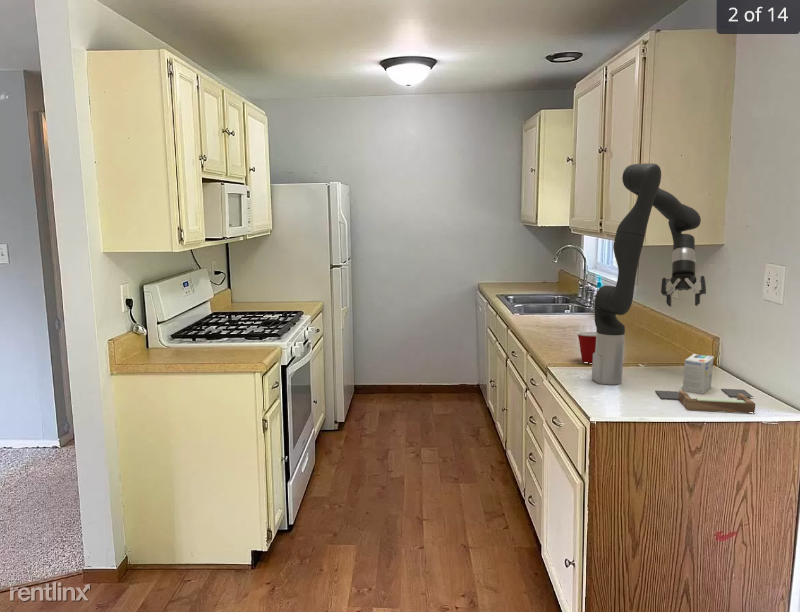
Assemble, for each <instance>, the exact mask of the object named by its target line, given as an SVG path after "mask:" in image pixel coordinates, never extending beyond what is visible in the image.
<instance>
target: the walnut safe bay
mask: <svg viewBox="0 0 800 612" xmlns="http://www.w3.org/2000/svg"><path fill="white" fill-rule="evenodd" d="M678 392H679V400H678V401H679V402H680V403H681V405H682V406H683V407H684V408H685V409H686V410H687V411H699V412H716V411H725V412H724V413H734V412H744V413H743V414H750V413H749V412H753V413H754V412H755V411H756V403H755V402H754V401H753V400H751V398H748V397H746V396H745V395H744V394H739V393H738V394H737V398H736V399H726V398H724V399H723V398H710V397H708V398H707V397H696V398H691V397H690V395H689V394H688V393H687V391H683V390H678ZM745 412H746V413H745ZM754 414H755V413H754Z"/></svg>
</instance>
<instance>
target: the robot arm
mask: <svg viewBox="0 0 800 612" xmlns="http://www.w3.org/2000/svg"><path fill="white" fill-rule="evenodd" d="M621 180H622V183H623V186H624V188H626V190H628V191H629V192H631V193H632V194H634V195H636V196H637V198H636V201H635V204H634V205H633V207H632V208H631V209H630V211H629V212H628V213H627V214H626V215H625V217H624V218H622V220H621V221H620V223H619V224H618V227H617V228H616V232H615V235H614V236H615V237H614V241H613V245H612V246H613V253H614V258H615V261H616V264H617V270H618V271H617V280H616V283H615V284H616V285H614V286H613V285H608V284H607V285H602V286H600V287H599V288H598V290H596V293H595V297H594V324H595V328H596V331H595V332H596V349H595V353H593V362H592V364H591V365H592V367H591V380H592V381H594V382H595V383H597V384H599V385H600V384H602V385H603V384H604V385H610V386H611V385H613V386H614V385H620V384H622V382H623V367H624V349H625V333H626V327H625V324H623V323H622V322H621V321H620V320H619V319H618V318H617V316H616V315H619V316H623V315H625V314H627V313H628V312H629V311H630V309H631V307H632V304H633V300H634V299H633V298H634V292H635V285H636V277H637V271H638V268H639V267H638V266H639V261H640V257H641V253H642V250H643V246H644V242H645V238H646V233H647V228H648V223H649V219H650V216H651V212H652V210H653V209H652V208H655V210H657V211H658V212H659V213H660V214H661V215H662V216H663V217H664V218H665V219H667V220H668V221H667V222H668V227H669V230H670V233H671V237H672V242H673V244H672V245H673V246H672V256H671V259H672V260H671V261H672V263H671V278H666V277H663V278H662V280H661V286H660V287H661V288H660V292H661V295H662V296H665V297H666V302H665V303H666V305H667V306H668V307H669V308H671V307H672V300H673V299H672V296H673V295H674V294H675V293H676V292H677V291H689V290H691V291H692V292H693V293H694V305H695V307H698V306H699V305H700V304H701V296H702V295H706V294H707V288H706V287H707V284H706V278H705V276H704V275H701V276H700V277H697V276H696V262H697V261H696V253H695V251H696V250H695V246H696V245H695V243H696V242H695V237H694V236H693V235H692V234H690V233H682V232H686V231H691V230H695V229H698V227H699V226H700V225H701V221H702V220H701V215H700V214H699V212H698V211H697V210H696V209H695V208H693V207H690V206H688V205H686V204H684V203H682V202H681V201H680V200H679V199H678V198H677V197H676V196H674V195H673V194H672V193H671V192H668V190H667V191H666V190H664V189H662V188H660V185H661V181H662V170H661V167H660V165H659V164H657V163H653V162H652V163H634V164H630V165H628V166H626V167H625V169H624V170H623V172H622V178H621ZM697 282H698V283H699V284H700V286H701V287H700V288H701V289H698V288H697V287H696V286H695V284H696V283H697ZM670 283H671V284H672V285H671V286H670V287H669V289H668V290H667V286H668V285H669V284H670Z"/></svg>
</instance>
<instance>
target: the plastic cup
mask: <svg viewBox="0 0 800 612" xmlns="http://www.w3.org/2000/svg"><path fill="white" fill-rule="evenodd" d="M576 335H577V338H578V342H579V349H580V357H581V362H582V361H583V362H588V363H592V362H593V353H595V349H596V331H578V332H576ZM583 362H582V363H583Z"/></svg>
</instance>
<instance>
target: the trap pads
mask: <svg viewBox="0 0 800 612" xmlns="http://www.w3.org/2000/svg"><path fill="white" fill-rule="evenodd" d="M720 390H721V392H723V393H724V394H725V395H726V394H727V395H728V397H729V398H733V397H737V394H738V393H739V394H744V395H745V396H746V397H748V398H749V399H751V398H750V397H754V396H753V395H752V394H750V393H749V392H748V391H746V390H745V389H737V388H736V389H735V388H720ZM655 394H656V396H658V397H659V398H660V400H665V399H666V401H667V400H669V401H670V400H671V401H679V390H678V391H677V390H676V391H675V390H674V391H673V390H658V389H657V390H655ZM727 395H726V396H727Z"/></svg>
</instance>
